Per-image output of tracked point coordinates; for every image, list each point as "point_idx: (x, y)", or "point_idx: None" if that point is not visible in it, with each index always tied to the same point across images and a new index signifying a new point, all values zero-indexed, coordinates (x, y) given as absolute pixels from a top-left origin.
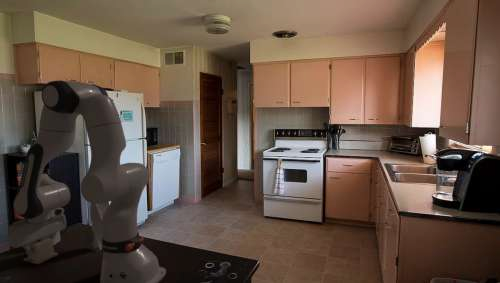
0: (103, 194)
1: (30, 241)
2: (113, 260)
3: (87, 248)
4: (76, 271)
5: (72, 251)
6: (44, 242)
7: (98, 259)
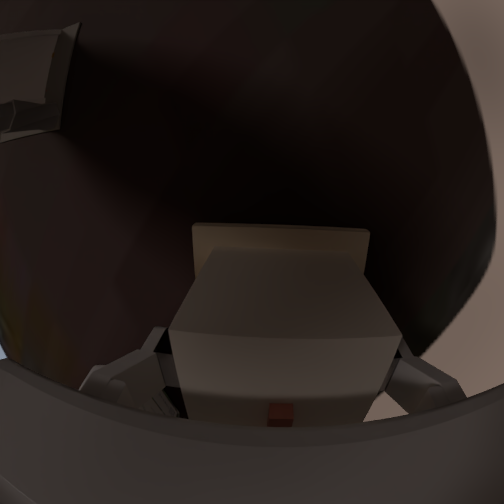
0: None
1: (458, 411)
2: None
3: (60, 112)
4: None
5: (116, 166)
6: (298, 343)
7: None
